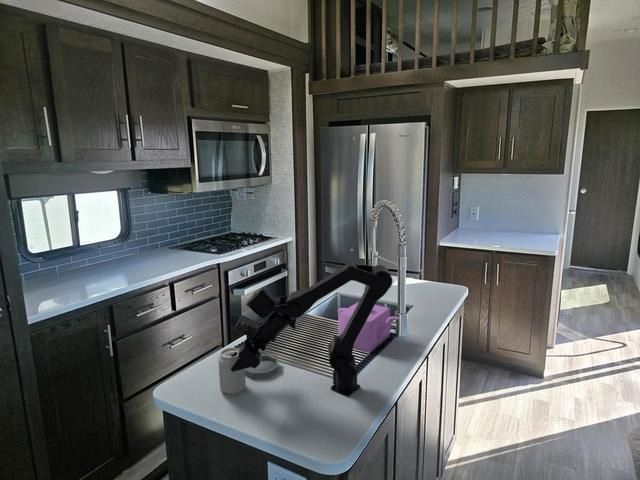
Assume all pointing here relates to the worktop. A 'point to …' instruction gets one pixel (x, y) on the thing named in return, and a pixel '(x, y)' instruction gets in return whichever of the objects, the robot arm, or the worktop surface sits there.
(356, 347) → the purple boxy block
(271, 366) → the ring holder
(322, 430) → the worktop surface
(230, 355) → the can
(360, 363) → the worktop surface
